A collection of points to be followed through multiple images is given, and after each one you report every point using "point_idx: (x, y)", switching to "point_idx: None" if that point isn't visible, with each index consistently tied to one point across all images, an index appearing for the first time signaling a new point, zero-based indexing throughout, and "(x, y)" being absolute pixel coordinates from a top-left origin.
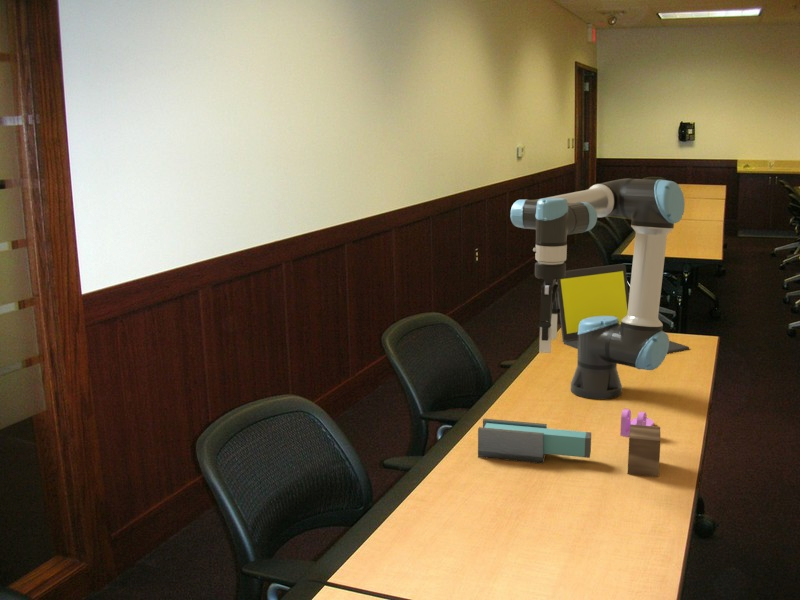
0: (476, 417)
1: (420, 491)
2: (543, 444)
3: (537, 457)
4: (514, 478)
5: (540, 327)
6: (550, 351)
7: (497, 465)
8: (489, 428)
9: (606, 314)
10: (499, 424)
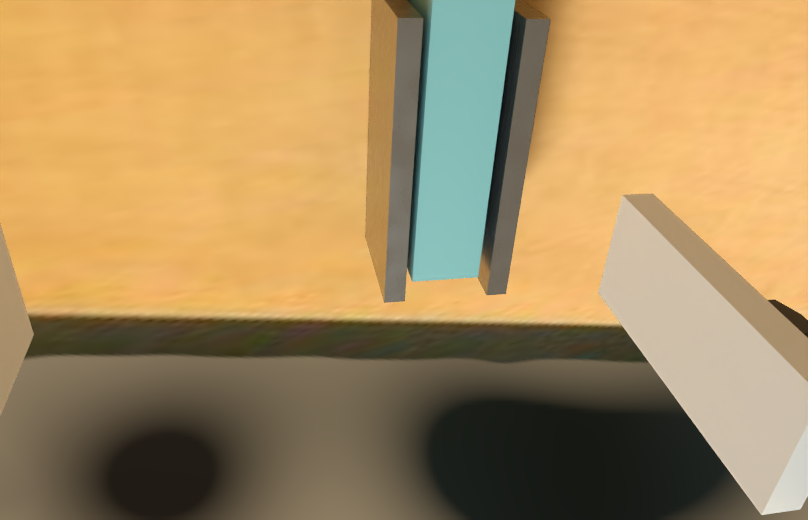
0: (66, 328)
1: None
2: None
3: None
4: (638, 77)
5: (797, 493)
6: (661, 202)
7: (532, 155)
8: (496, 257)
9: None
10: (419, 231)
